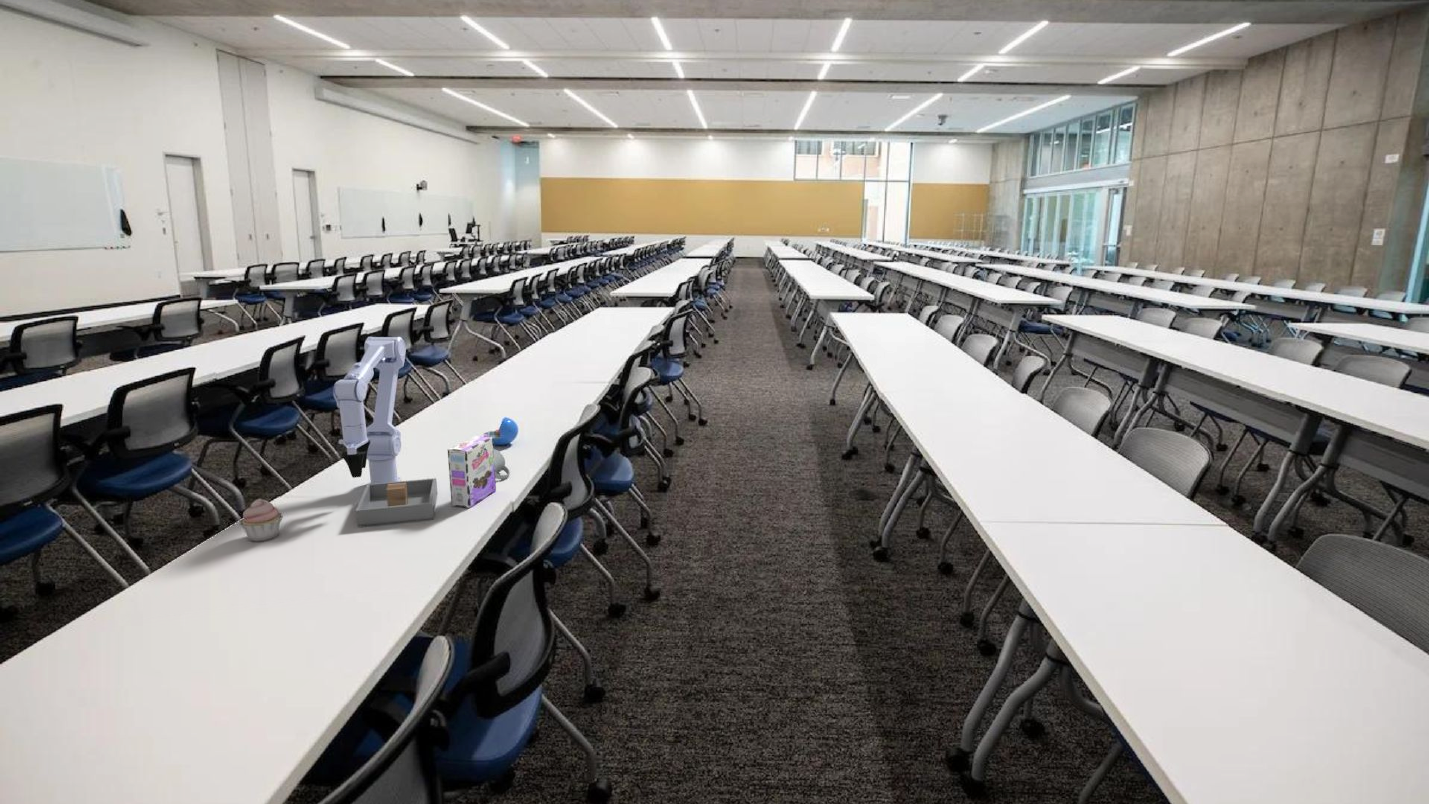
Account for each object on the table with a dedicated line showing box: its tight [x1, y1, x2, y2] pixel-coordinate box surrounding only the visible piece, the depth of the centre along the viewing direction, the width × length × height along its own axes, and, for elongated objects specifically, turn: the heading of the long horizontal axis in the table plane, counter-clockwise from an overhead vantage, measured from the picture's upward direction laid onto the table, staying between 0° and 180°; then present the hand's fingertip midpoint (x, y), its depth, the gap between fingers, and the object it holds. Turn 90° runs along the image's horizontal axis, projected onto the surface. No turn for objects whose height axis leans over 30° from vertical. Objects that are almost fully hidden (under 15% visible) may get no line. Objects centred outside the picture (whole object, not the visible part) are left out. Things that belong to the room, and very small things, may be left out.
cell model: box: [483, 416, 519, 446], centre depth 257 cm, size 10×12×10 cm
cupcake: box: [238, 498, 284, 542], centre depth 182 cm, size 9×9×10 cm
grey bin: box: [355, 477, 438, 528], centre depth 200 cm, size 20×18×4 cm
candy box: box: [447, 435, 497, 509], centre depth 207 cm, size 14×6×16 cm, turn 165°
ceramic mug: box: [493, 448, 511, 480], centre depth 225 cm, size 11×8×8 cm
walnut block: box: [386, 483, 408, 507], centre depth 200 cm, size 4×4×6 cm
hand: (359, 472), depth 201 cm, fingers open, 7 cm apart
